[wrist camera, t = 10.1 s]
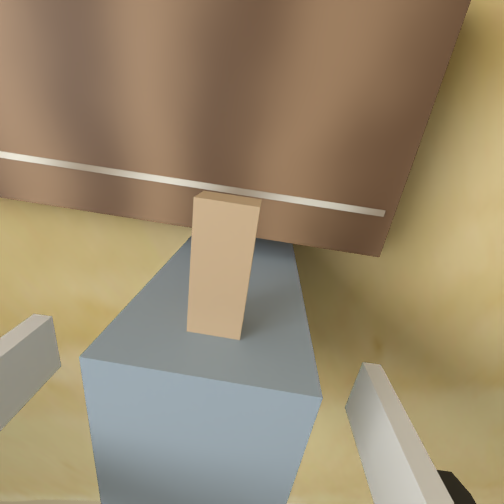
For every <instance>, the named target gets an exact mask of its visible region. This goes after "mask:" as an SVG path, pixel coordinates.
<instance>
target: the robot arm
mask: <svg viewBox="0 0 504 504" xmlns="http://www.w3.org/2000/svg"><path fill="white" fill-rule="evenodd" d="M60 367H61V362H60V357H59V351H58V346H57V340H56V335H55V330H54V324H53V319H52V316H46V315H39V314H33V315H31V316H30V317H29V318H27V319H26V320H24V321H23V322H22V323H20V324H19V325H17V326H16V327H15V328H13V329H12V330H10V331H9V332H8V333H6V334H5V335H3V336H2V337H1V338H0V431H1V430H2V429H3V428H4V427H5V426H6V424H7V423H8V422H9V421H10V420H11V419H12V418H13V417H14V416H15V415H16V414H17V413H18V412H19V411H20V410H21V408H22V407H23V406H24V405H25V404H26V403H27V402H28V401H29V400H30V399H31V398H32V397H33V396H34V395H35V394H36V392H37V391H38V390H39V389H40V388H41V387H42V386H43V385H44V384H45V383H46V382H47V381H48V380H49V379H50V378H51V376H52V375H53V374H54V373H55V372H56V371H57V370H58V369H59V368H60ZM345 409H346V413H347V416H348V419H349V423H350V426H351V429H352V432H353V436H354V439H355V442H356V446H357V449H358V452H359V456H360V459H361V462H362V465H363V469H364V472H365V475H366V479H367V482H368V485H369V489H370V492H371V495H372V498H373V502H374V504H476V503H475V501H474V499H473V498H472V496H471V494H470V493H469V492H468V491H467V489H466V488H465V487H464V486H463V485H462V484H461V482H460V481H459V480H458V479H457V478H456V477H455V476H454V474H453V473H452V472H447V471H440V470H436V468H435V466H434V464H433V462H432V460H431V459H430V457H429V455H428V453H427V451H426V449H425V447H424V445H423V443H422V442H421V440H420V438H419V436H418V434H417V432H416V430H415V428H414V426H413V425H412V423H411V421H410V419H409V417H408V415H407V413H406V411H405V409H404V407H403V406H402V404H401V402H400V400H399V398H398V396H397V394H396V392H395V390H394V389H393V387H392V385H391V383H390V381H389V379H388V377H387V375H386V373H385V372H384V370H383V368H382V366H381V365H380V364H373V363H367V362H363V363H362V365H361V368H360V370H359V373H358V375H357V378H356V380H355V383H354V386H353V388H352V391H351V393H350V396H349V398H348V401H347V403H346V406H345Z"/></svg>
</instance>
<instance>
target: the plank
mask: <svg viewBox="0 0 504 504" xmlns="http://www.w3.org/2000/svg"><path fill="white" fill-rule="evenodd" d="M470 1H471V0H0V197H1V198H7V199H13V200H20V201H26V202H32V203H39V204H45V205H52V206H58V207H64V208H71V209H77V210H83V211H90V212H96V213H102V214H109V215H115V216H121V217H128V218H134V219H140V220H147V221H153V222H159V223H166V224H172V225H178V226H185V227H191V228H192V219H193V200H194V196H196V195H198V194H199V193H201V192H203V191H210V192H217V193H223V194H230V195H236V196H243V197H249V198H255V199H262V202H261V208H260V215H259V221H258V228H257V234H256V238H261V239H267V240H273V241H280V242H286V243H293V244H299V245H305V246H312V247H318V248H324V249H331V250H337V251H343V252H350V253H356V254H362V255H369V256H375V257H380V254H381V251H382V248H383V245H384V243H385V240H386V237H387V234H388V231H389V229H390V226H391V223H392V220H393V217H394V215H395V212H396V209H397V206H398V203H399V201H400V198H401V195H402V192H403V189H404V187H405V184H406V181H407V178H408V175H409V173H410V170H411V167H412V164H413V161H414V159H415V156H416V153H417V150H418V147H419V145H420V142H421V139H422V136H423V133H424V130H425V128H426V125H427V122H428V119H429V116H430V114H431V111H432V108H433V105H434V102H435V100H436V97H437V94H438V91H439V88H440V86H441V83H442V80H443V77H444V74H445V72H446V69H447V66H448V63H449V60H450V58H451V55H452V52H453V49H454V46H455V44H456V41H457V38H458V35H459V32H460V30H461V27H462V24H463V21H464V18H465V15H466V13H467V10H468V7H469V4H470Z"/></svg>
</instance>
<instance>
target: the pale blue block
mask: <svg viewBox="0 0 504 504" xmlns="http://www.w3.org/2000/svg"><path fill="white" fill-rule="evenodd" d="M261 202H262V199H255V198H249V197H243V196H236V195H230V194H223V193H217V192H210V191H203V192H201V193H199V194H198V195H196V196H194V200H193V219H192V236H191V237H190V238H189V239H188V240H187V241H186V242H185V243H184V244H183V246H182V247H181V248H180V249H179V250H178V251H177V252H176V253H175V254H174V255H173V256H172V257H171V258H170V260H169V261H168V262H167V263H166V264H165V265H164V266H163V267H162V268H161V269H160V270H159V271H158V272H157V274H156V275H155V276H154V277H153V278H152V279H151V280H150V281H149V282H148V283H147V284H146V285H145V286H144V288H143V289H142V290H141V291H140V292H139V293H138V294H137V295H136V296H135V297H134V298H133V299H132V300H131V302H130V303H129V304H128V305H127V306H126V307H125V308H124V309H123V310H122V311H121V312H120V313H119V314H118V316H117V317H116V318H115V319H114V320H113V321H112V322H111V323H110V324H109V325H108V326H107V327H106V328H105V330H104V331H103V332H102V333H101V334H100V335H99V336H98V337H97V338H96V339H95V340H94V341H93V342H92V344H91V345H90V346H89V347H88V348H87V349H86V350H85V351H84V352H83V353H82V354H81V355H80V356H79V360H80V366H81V373H82V380H83V386H84V393H85V400H86V406H87V413H88V420H89V426H90V433H91V440H92V446H93V453H94V460H95V466H96V473H97V480H98V486H99V493H100V500H101V504H286V503H287V500H288V498H289V495H290V492H291V489H292V486H293V483H294V480H295V477H296V474H297V471H298V468H299V466H300V463H301V460H302V457H303V454H304V451H305V448H306V445H307V442H308V439H309V436H310V434H311V431H312V428H313V425H314V422H315V419H316V416H317V413H318V410H319V407H320V404H321V402H322V399H323V397H322V392H321V387H320V382H319V376H318V371H317V366H316V361H315V356H314V351H313V346H312V341H311V336H310V331H309V326H308V321H307V315H306V310H305V305H304V300H303V295H302V290H301V285H300V280H299V275H298V270H297V265H296V260H295V254H294V249H293V244H292V243H286V242H280V241H273V240H267V239H261V238H256V234H257V228H258V221H259V215H260V208H261Z"/></svg>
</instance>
